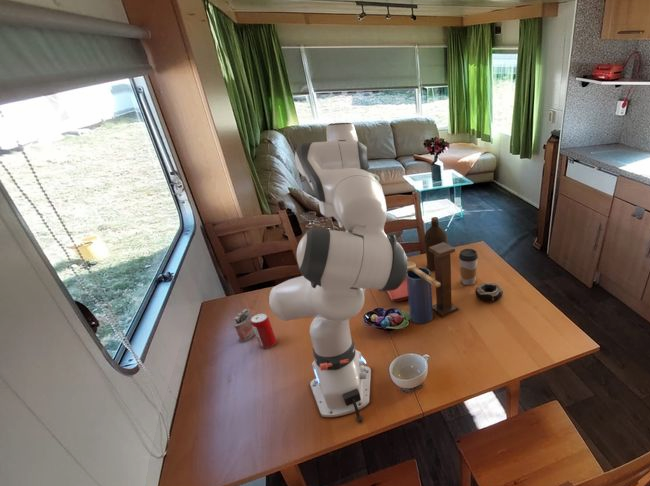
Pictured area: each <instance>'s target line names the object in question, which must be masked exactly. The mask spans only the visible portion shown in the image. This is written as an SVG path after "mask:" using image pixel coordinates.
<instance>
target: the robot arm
mask: <svg viewBox="0 0 650 486" xmlns="http://www.w3.org/2000/svg"><path fill="white" fill-rule="evenodd" d="M325 130H326V131H325V132H326V141H302V142H300V144H299V145H298V146H297V147H296V149H295V153H294V161H295V165H296V169H297V170H298V173H299V174H300V175H301V177H302V178H303V179H304V180H305V182H306V183H307V185H308V187H309V189H310V190H311V192H312V194H313V195H314V197H315V198H316V199H317V200H318V206H319V212H320V214H321V215H322V216H324V217H325V218H331V217H332V218H334V220H335V221H337V223H338V227H339V228H341V229H342V228H344V229H345V230H335V229H329V228H328V227H311V228H309V229H307V230H305V233H304V234H303V236H302V237H301V239H300V240H299V242H298V245H297V248H296V254H295V255H296V256H295V257H296V262H297V265H298V266H297V267H298V271H299V272H300V273H301V275H300V276H295V277H293V278H290V279H287V280H285V281H283V282H281V283H278V284H277V285H275V286H273V287H272V288H271V289H270V292H269V296H268V305H269V308H270V310H271V312H272V313H273V314H274V316H275V317H277V318H278V319H280V320H282V321H284V322H288V321H294V320H301V319H312V321H311V323H310V326H309V331H308V334H309V337H310V340H311V344H312V354H313V358H314V360H313V361H312V363H311V366H312V369H313V373H314V377H315V378H314V379H312V380H311V381H310V383H309V385H310V389H311V392H312V395H313V398H314V400H315V403H316V406H317V408H318V410H319V413H320V414H319V415H320V416H321V417H324V418H338V417H341V416H342V417H343V416H346V415H350V414H352V413H354V412H355V414H356V418H357V420H358V422H359V423H362V422H363V420H362V418H361V414H360V412H359V410H362V409H363V408H365V407H366V406H368V405H369V403H370V396H371V378H372V377H371V376H372V370H371V367H369V366H366V365H365V364H367V361H366V359H365V358H364V357H363V356H362V352H361V351H359V350H357V349H356V345H355V341H354V339H353V337H352V335H351V329H350V328H351V327H350V319H353V318H355V317H356V316H357V315H358V314H359V313H360V312H361V311H362V310H363V308H364V305H365V300H366V298H365V297H366V296H365V293H366V291H367V290H378V291H379V292H387V291H391V290H396V289H397V288H398V287H399V286H400V285H401V284H402V283H403V281H404V279H405V276H406V272H407V262H408V256H407V254H406V252H405V250H404V248H403V246H402V245H401V244H400V243H399V242H398V241H397V236H396V235H395V234H394V233H389V234H386V232H385V225H386V222H387V215H388V210H387V209H388V208H387V200H386V197H385V194H384V191H383V186H382V184H380V176H379V175H377V174H376V173H373V172H369V171H368V170H369V168H370V165H369V161H368V148H367V146H366V145H365V144H363V143H362V142H360V141H359V138H358V134H357V130H356V128H355V125H354V124H353V123H351V122H334V123H333V122H332V123H329V124H328V125H326V128H325Z"/></svg>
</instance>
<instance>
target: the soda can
mask: <svg viewBox="0 0 650 486" xmlns="http://www.w3.org/2000/svg"><path fill="white" fill-rule="evenodd" d="M251 323H252V327H253V329H254V332H255V334H254V335H255V337H256V339H257V343H258V346H259V347H260V348H262V349H269V348H272V347H274V345H275V344H276V343H277V338H276V335H275V333H274V330H273V327H272V324H271V321H270V319H269V317H268V316H267V314H266V313H258V314H255V315H253V316H252V319H251Z"/></svg>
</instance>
